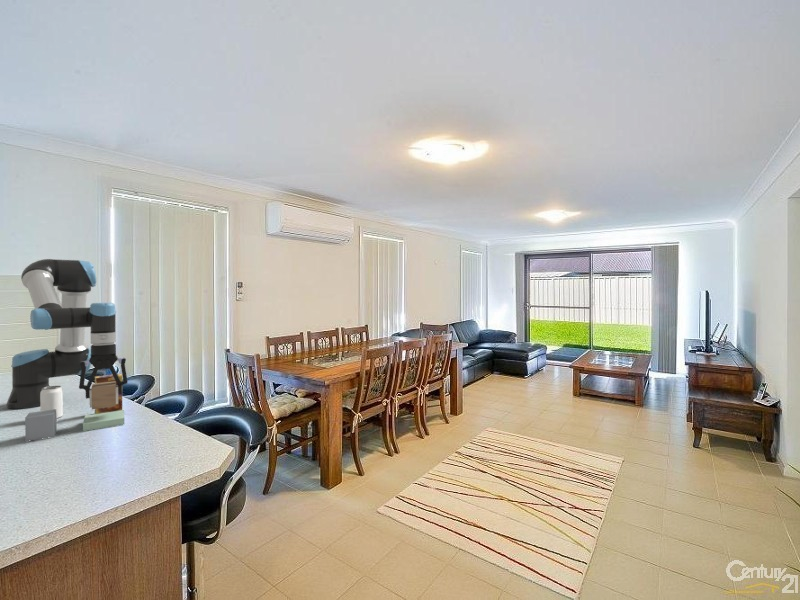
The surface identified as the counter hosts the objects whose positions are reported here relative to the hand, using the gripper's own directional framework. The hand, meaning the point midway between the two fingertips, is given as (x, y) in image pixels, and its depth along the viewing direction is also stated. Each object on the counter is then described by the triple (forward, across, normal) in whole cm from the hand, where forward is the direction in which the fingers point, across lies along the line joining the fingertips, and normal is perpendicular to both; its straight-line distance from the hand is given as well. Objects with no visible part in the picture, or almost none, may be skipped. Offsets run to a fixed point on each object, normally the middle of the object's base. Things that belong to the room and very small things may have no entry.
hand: (104, 404), depth 146 cm
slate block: (+7, -17, -4) cm, 19 cm away
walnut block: (0, 0, 0) cm, 0 cm away
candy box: (+7, +1, +16) cm, 17 cm away
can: (+7, -17, +20) cm, 27 cm away
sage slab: (+7, 0, 0) cm, 7 cm away
